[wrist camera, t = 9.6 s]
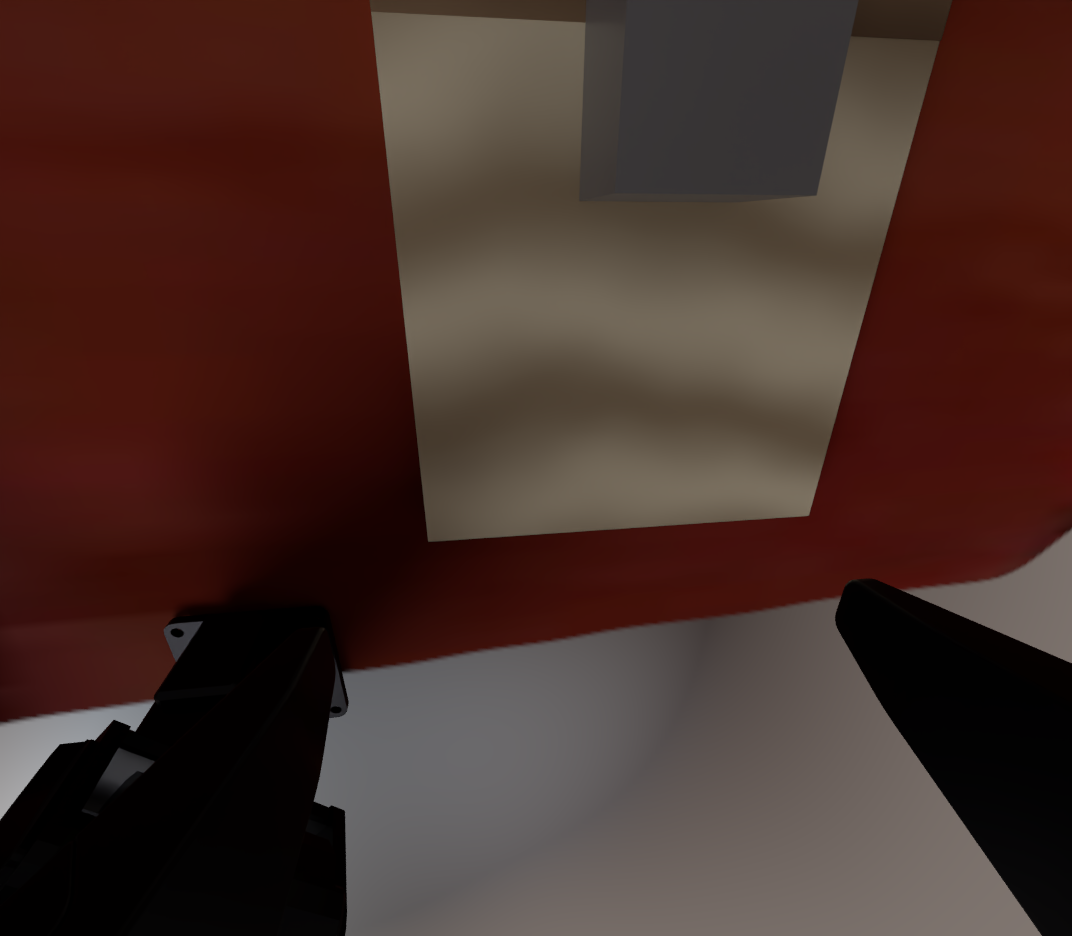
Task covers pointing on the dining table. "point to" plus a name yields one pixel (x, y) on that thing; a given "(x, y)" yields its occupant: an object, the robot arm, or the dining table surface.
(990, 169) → the dining table surface
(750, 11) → the block
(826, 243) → the board
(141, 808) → the robot arm
